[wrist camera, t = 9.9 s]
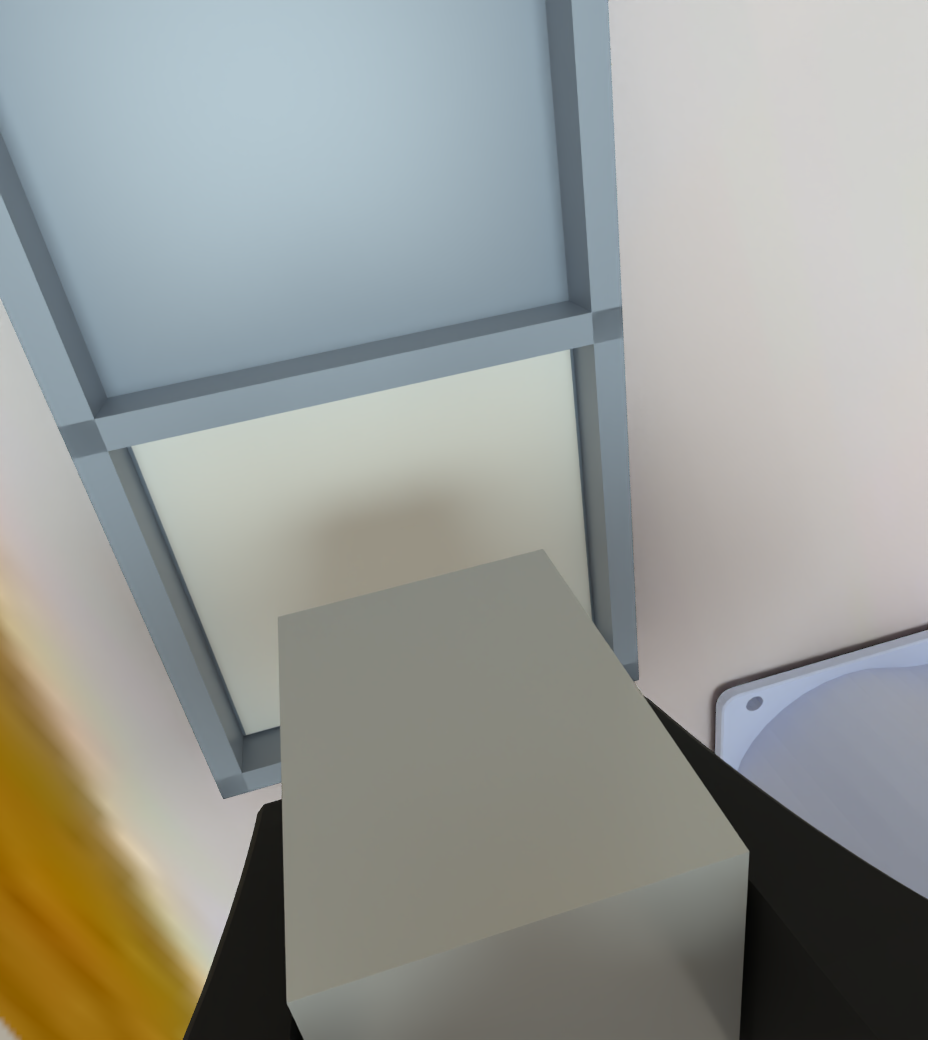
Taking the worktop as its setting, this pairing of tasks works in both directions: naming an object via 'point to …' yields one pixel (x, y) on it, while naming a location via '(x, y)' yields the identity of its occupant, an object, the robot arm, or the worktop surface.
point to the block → (494, 826)
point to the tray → (320, 309)
